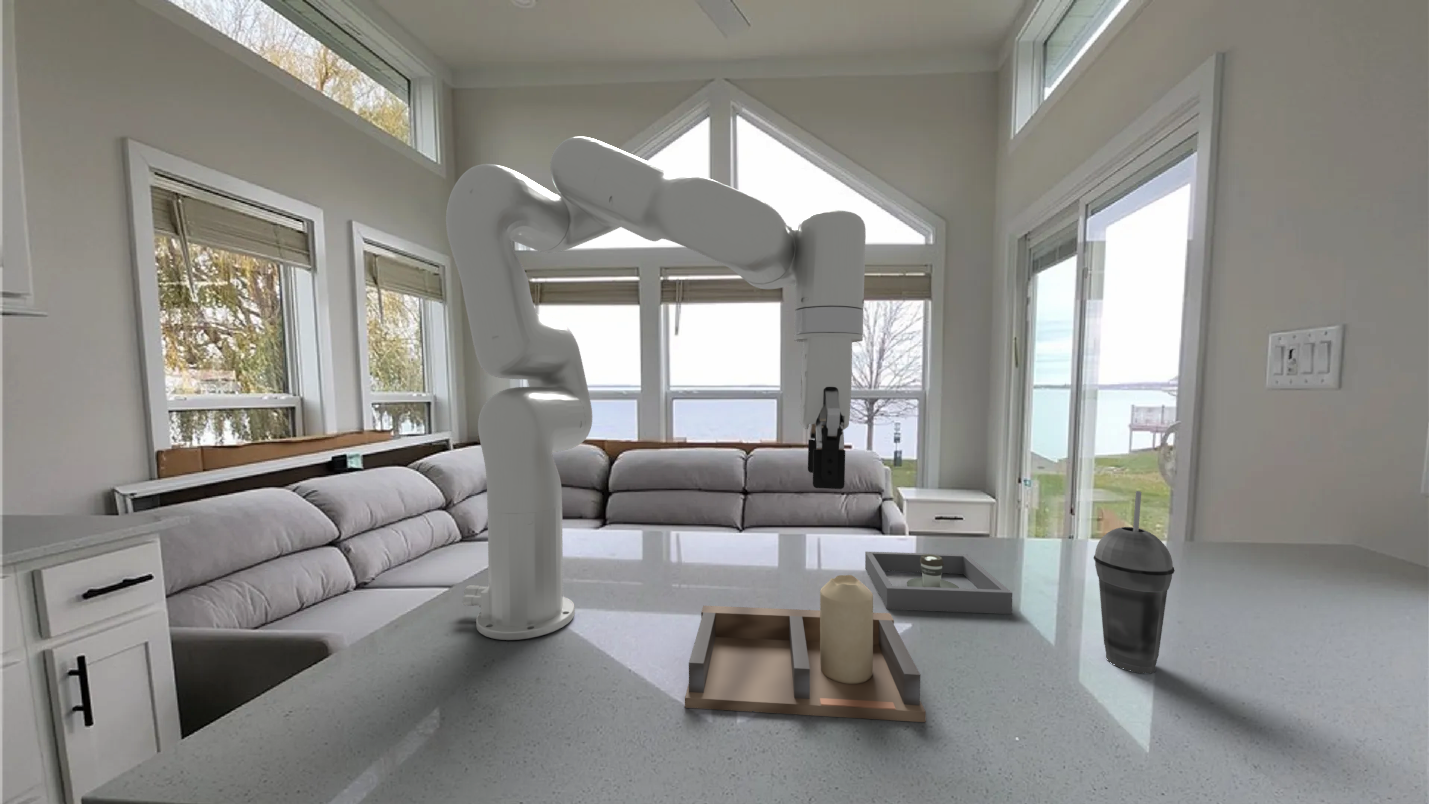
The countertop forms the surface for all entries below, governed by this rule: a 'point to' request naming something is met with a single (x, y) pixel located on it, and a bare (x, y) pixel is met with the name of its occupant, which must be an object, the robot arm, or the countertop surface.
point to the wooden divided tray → (795, 668)
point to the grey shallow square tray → (979, 600)
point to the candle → (846, 630)
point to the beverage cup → (1133, 594)
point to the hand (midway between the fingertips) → (824, 479)
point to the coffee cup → (931, 573)
